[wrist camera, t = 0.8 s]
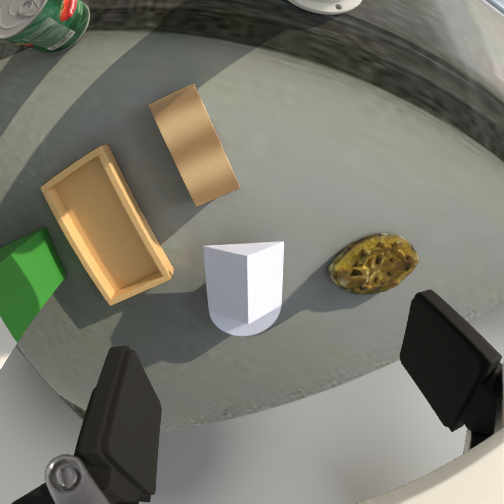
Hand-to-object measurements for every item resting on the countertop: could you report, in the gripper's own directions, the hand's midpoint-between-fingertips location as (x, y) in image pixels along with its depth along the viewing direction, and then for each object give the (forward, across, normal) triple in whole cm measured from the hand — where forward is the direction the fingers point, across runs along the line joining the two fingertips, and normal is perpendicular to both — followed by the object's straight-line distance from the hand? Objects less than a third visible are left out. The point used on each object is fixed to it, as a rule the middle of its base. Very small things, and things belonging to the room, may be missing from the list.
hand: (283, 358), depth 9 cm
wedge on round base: (+28, 0, +12) cm, 30 cm away
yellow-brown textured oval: (+28, -19, +13) cm, 36 cm away
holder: (+28, +16, +2) cm, 32 cm away
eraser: (+27, +3, -6) cm, 28 cm away
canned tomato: (+28, +18, -26) cm, 42 cm away
